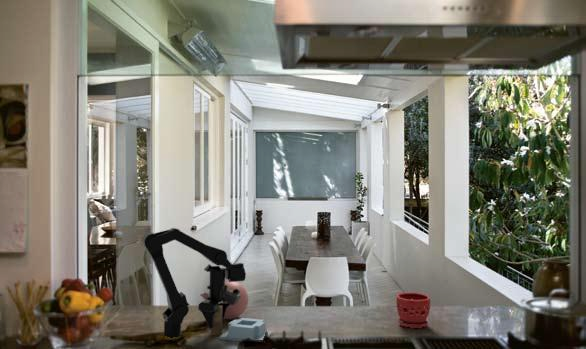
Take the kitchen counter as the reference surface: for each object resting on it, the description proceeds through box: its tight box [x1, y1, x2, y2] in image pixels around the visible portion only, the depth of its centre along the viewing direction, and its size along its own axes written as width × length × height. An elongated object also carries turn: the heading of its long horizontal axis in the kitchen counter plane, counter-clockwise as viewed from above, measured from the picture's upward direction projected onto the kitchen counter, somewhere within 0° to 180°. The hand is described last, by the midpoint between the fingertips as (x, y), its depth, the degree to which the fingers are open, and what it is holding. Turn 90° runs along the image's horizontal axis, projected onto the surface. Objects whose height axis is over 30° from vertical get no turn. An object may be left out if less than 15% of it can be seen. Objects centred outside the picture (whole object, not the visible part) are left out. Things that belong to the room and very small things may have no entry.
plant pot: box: [395, 292, 431, 329], centre depth 202 cm, size 13×13×12 cm
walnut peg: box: [210, 305, 223, 336], centre depth 188 cm, size 4×4×10 cm
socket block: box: [219, 317, 274, 342], centre depth 184 cm, size 12×16×5 cm
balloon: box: [199, 280, 249, 320], centre depth 211 cm, size 15×20×15 cm
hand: (216, 325), depth 188 cm, fingers open, 9 cm apart
